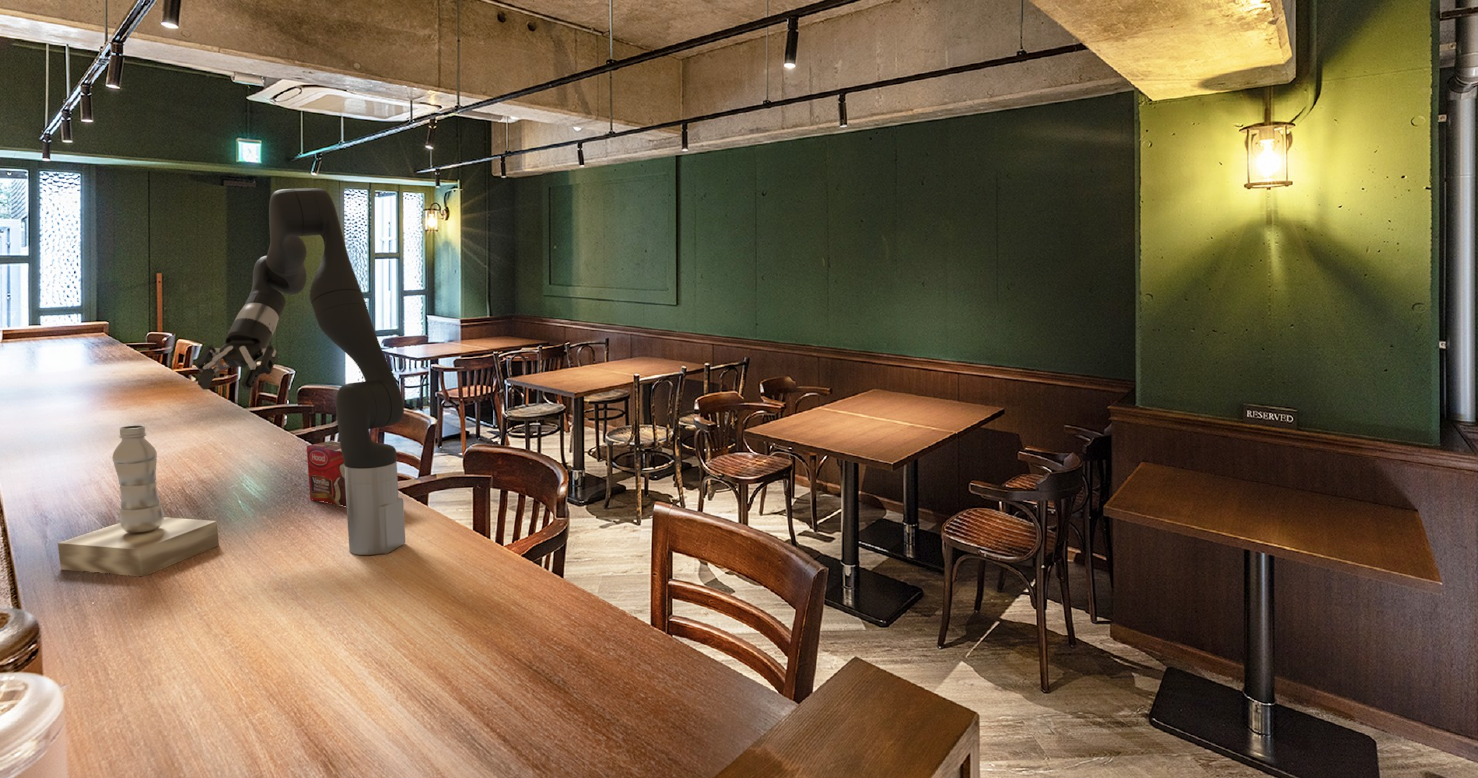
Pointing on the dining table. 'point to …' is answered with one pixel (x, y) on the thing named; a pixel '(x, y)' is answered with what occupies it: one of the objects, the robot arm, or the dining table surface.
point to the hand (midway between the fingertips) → (224, 387)
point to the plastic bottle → (137, 481)
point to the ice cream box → (326, 473)
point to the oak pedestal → (138, 547)
